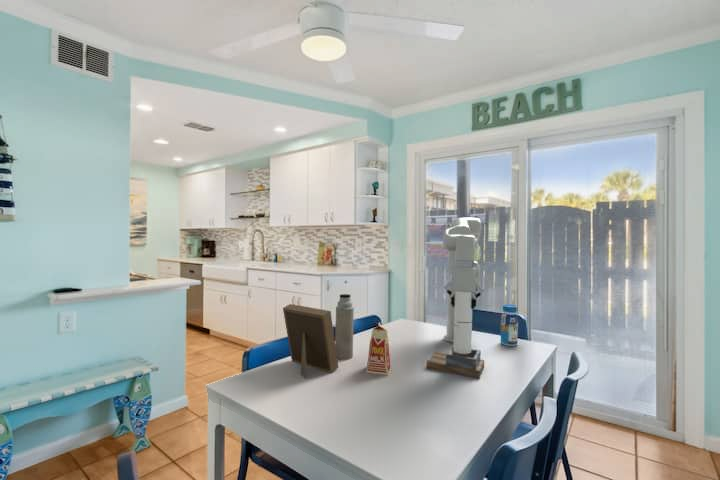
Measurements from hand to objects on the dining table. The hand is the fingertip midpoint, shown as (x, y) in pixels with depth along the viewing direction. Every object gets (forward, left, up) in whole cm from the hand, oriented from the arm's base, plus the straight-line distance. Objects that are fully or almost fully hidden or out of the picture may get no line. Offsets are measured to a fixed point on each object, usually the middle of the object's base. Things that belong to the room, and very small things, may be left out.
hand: (463, 307), depth 149 cm
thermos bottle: (+11, -50, -26) cm, 57 cm away
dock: (0, -3, -26) cm, 26 cm away
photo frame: (+32, -56, -26) cm, 70 cm away
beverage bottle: (-49, +15, -26) cm, 58 cm away
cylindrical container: (0, 0, -18) cm, 18 cm away
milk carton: (+18, -30, -26) cm, 44 cm away
